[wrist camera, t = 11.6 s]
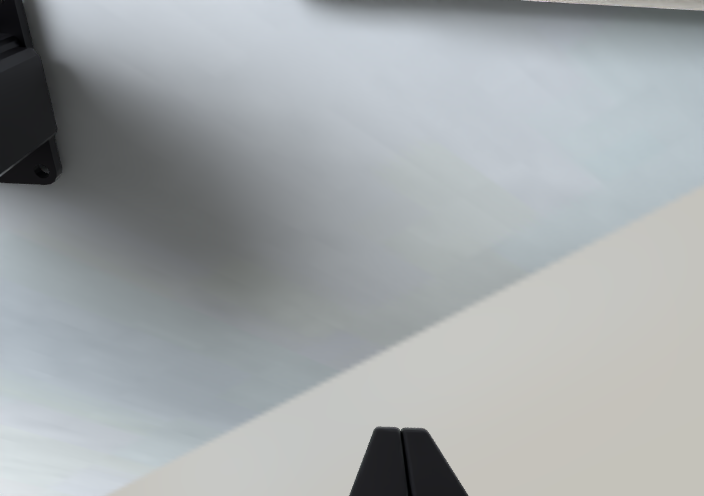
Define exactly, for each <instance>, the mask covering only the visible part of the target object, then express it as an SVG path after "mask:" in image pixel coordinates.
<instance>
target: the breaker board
mask: <svg viewBox="0 0 704 496" xmlns="http://www.w3.org/2000/svg"><path fill="white" fill-rule="evenodd" d="M523 1H541V2H559V3H577V4H594V5H612V6H630V7H648V8H665V9H683V10H701V11H704V0H523Z"/></svg>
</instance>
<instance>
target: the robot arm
mask: <svg viewBox="0 0 704 496" xmlns="http://www.w3.org/2000/svg"><path fill="white" fill-rule="evenodd" d="M56 132H57V126H56V122H55V118H54V113H53V109H52V105H51V100H50V96H49V92H48V88H47V83H46V79H45V75H44V70H43V66H42V62H41V58H40V56H39V54H38V53H37V52H36V51H35V50H34V49H33V45H32V40H31V36H30V32H29V28H28V24H27V19H26V15H25V11H24V7H23V3H22V0H5V1H4V2H1V1H0V183H19V184H40V185H47V184H51V183H53V182H54V181H55V180H57V179H58V178H59V177H60V175H61V173H62V166H61V162H60V158H59V154H58V150H57V145H56V141H55V137H54V134H55V133H56ZM40 164H41V165H44V166H45V167H47V168H48V170H49V173H45V172H44V171H42V170H41V168H40ZM349 496H468V494H467V493H466V491H465V489H464V488H463V486H462V485H461V483H460V482H459V480H458V478H457V477H456V475H455V474H454V472H453V470H452V469H451V467H450V466H449V464H448V462H447V461H446V459H445V458H444V456H443V455H442V453H441V451H440V450H439V448H438V447H437V445H436V444H435V442H434V440H433V439H432V437H431V435H430V434H429V432H428V431H427V430H425V429H423V428H403V429H401V431H400V430H399V428H396V427H376V428H375V429H374V431H373V434H372V437H371V439H370V442H369V445H368V447H367V450H366V453H365V455H364V458H363V461H362V463H361V466H360V468H359V471H358V474H357V476H356V479H355V482H354V485H353V487H352V490H351V493H350V495H349Z"/></svg>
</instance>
